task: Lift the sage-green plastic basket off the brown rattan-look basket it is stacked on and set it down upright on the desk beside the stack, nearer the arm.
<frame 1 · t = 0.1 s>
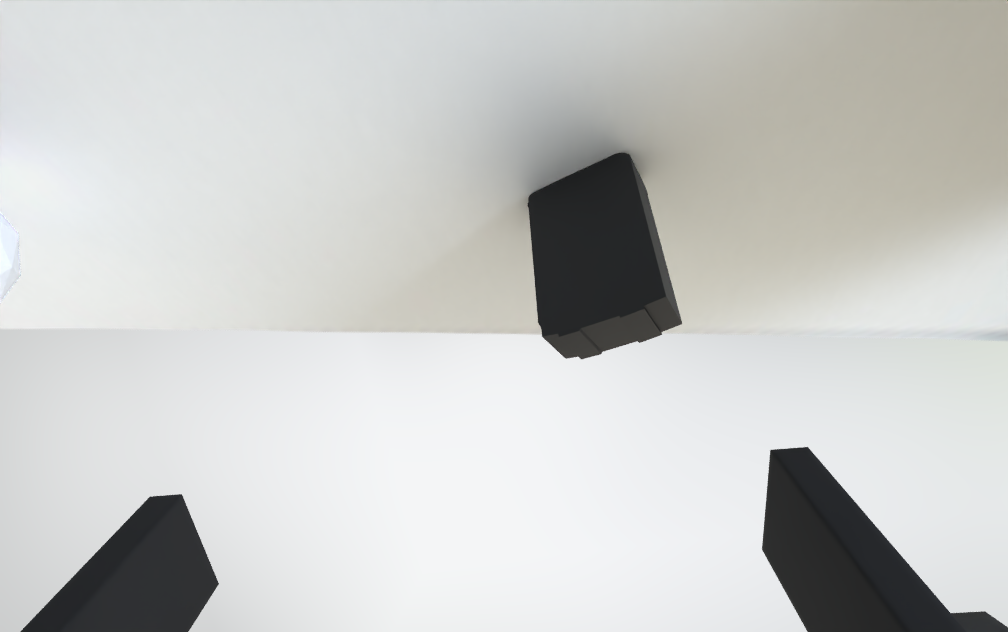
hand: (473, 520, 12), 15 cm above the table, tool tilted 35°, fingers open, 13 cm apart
ink cartridge: (584, 185, 24), on the table
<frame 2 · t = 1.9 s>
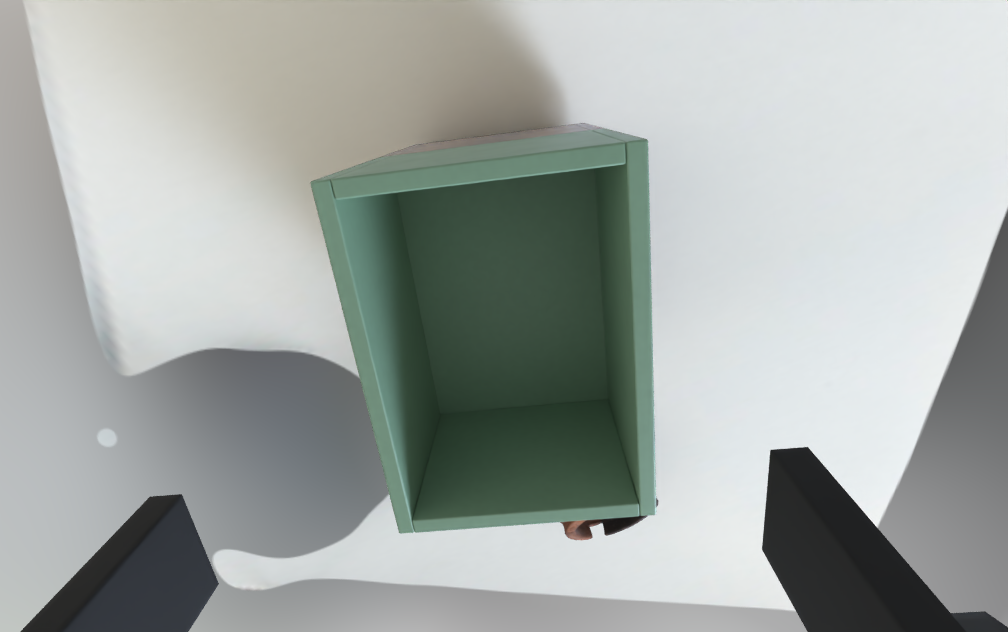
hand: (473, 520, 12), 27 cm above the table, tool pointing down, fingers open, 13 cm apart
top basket: (509, 284, 29), point 9 cm above the table, touching bottom basket
brown headphones: (573, 449, 44), on the table
bottom basket: (512, 244, 37), on the table, touching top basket
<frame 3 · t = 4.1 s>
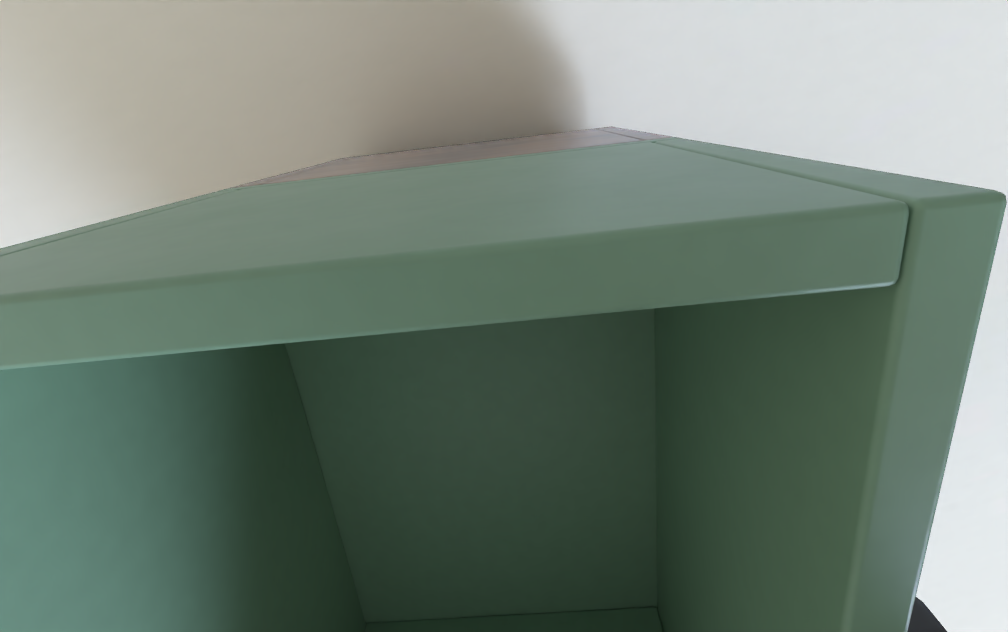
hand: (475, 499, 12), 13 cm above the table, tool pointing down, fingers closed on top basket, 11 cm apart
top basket: (486, 409, 16), point 9 cm above the table, touching bottom basket, gripper
bottom basket: (497, 308, 25), on the table, touching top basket
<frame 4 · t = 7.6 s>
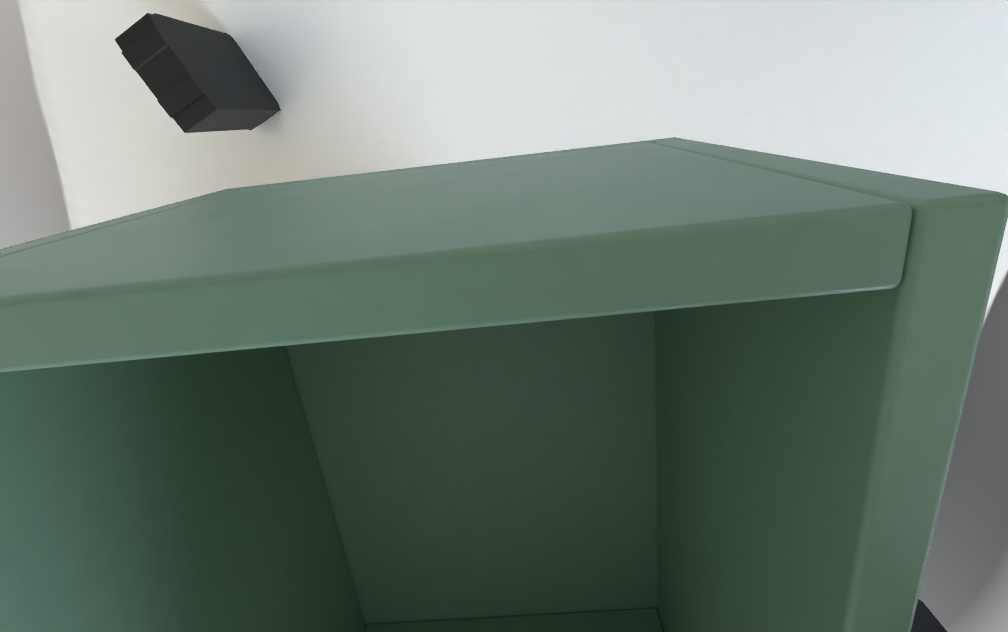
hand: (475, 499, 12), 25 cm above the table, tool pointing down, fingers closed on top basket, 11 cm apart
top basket: (486, 410, 16), point 21 cm above the table, touching gripper
ink cartridge: (245, 83, 33), on the table
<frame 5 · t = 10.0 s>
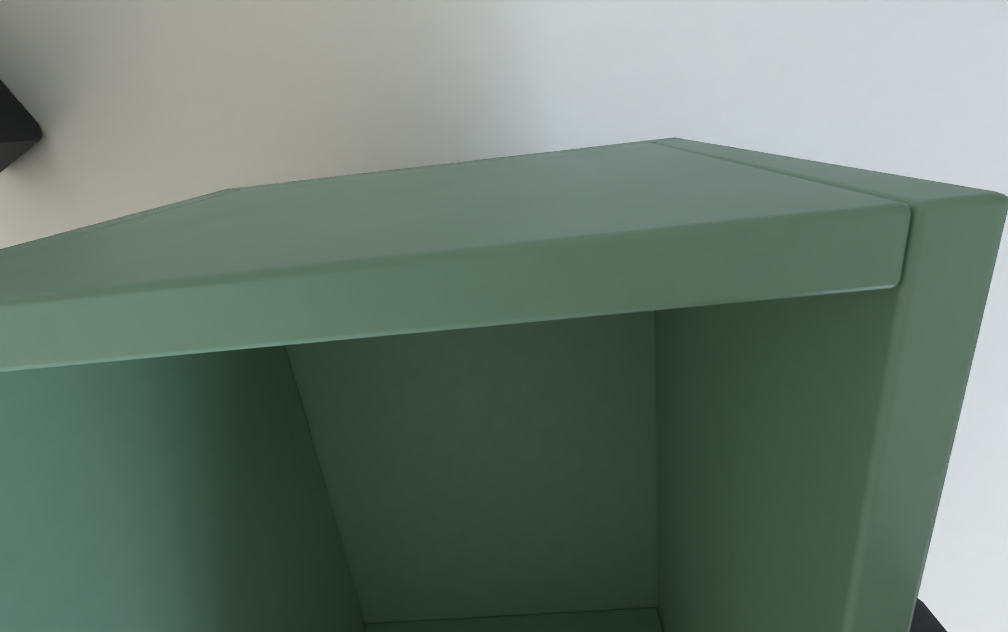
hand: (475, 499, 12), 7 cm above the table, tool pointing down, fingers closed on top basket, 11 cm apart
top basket: (486, 410, 16), point 3 cm above the table, touching gripper
when the fingers open (4 cm above the table, at t = 11.6 s): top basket stays where it is, on the table.
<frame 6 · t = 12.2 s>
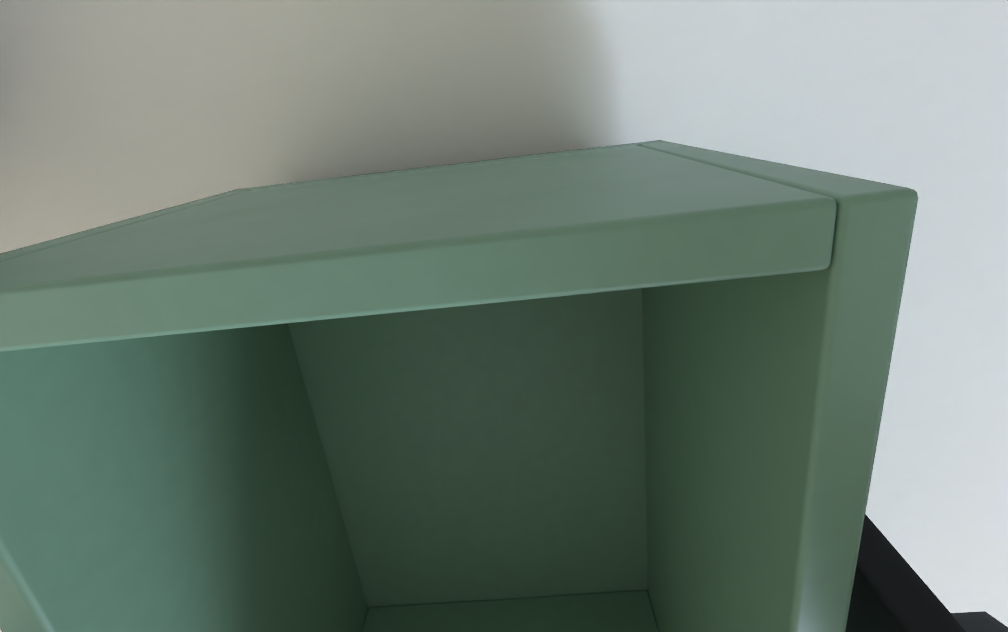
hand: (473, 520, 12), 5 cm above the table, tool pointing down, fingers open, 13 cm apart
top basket: (483, 400, 17), on the table
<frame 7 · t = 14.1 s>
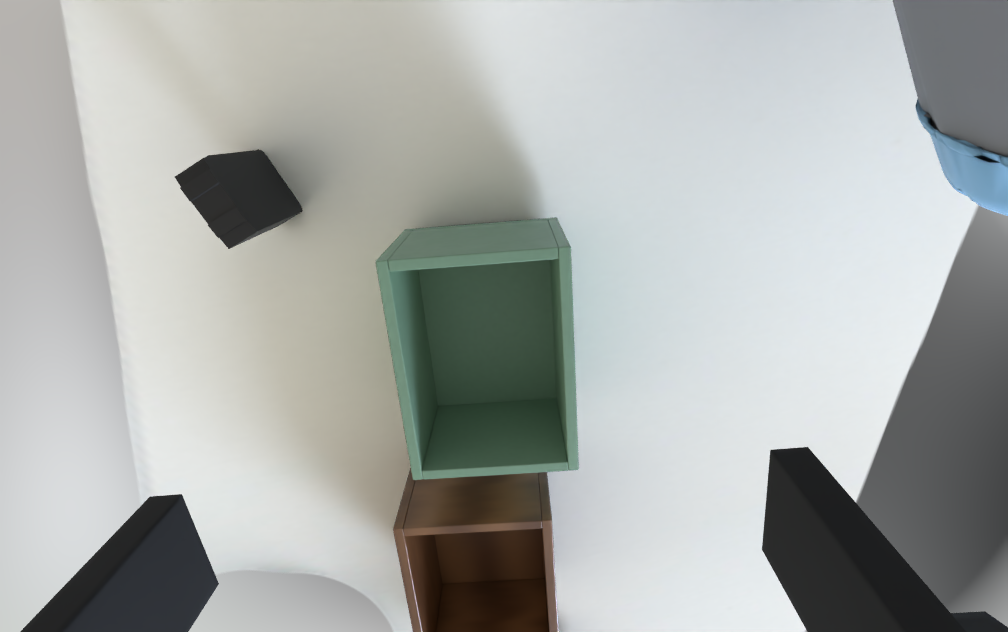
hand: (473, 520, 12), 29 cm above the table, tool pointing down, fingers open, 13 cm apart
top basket: (490, 315, 41), on the table
bottom basket: (487, 510, 48), on the table
ink cartridge: (272, 187, 38), on the table
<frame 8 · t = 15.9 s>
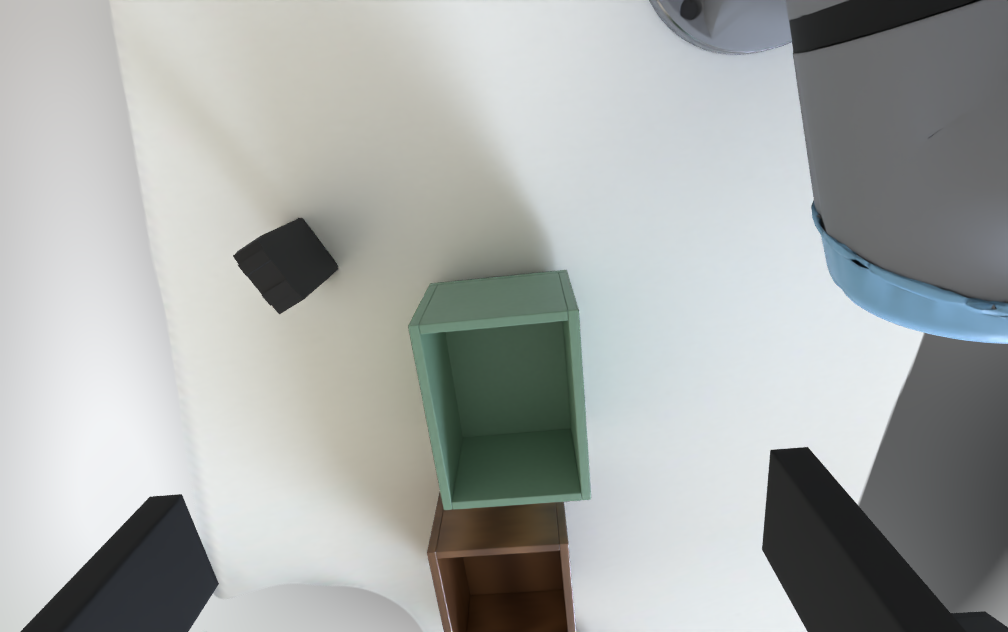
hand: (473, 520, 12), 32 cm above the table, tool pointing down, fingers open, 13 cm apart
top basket: (508, 355, 45), on the table
bottom basket: (509, 528, 52), on the table
ink cartridge: (311, 248, 43), on the table
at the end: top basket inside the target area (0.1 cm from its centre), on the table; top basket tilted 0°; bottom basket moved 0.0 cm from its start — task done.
